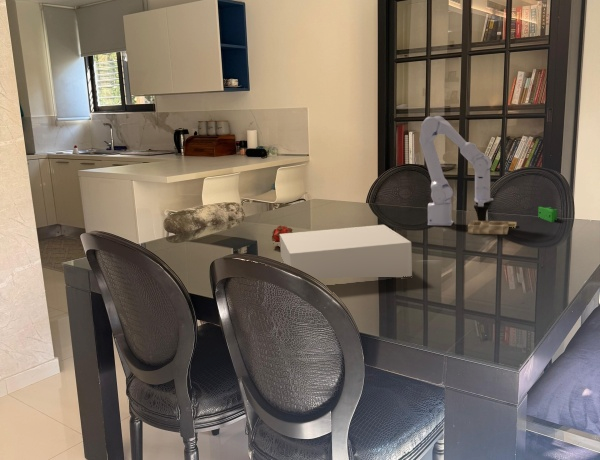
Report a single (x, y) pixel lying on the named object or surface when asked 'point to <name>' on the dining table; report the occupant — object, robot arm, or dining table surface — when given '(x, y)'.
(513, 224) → the tan rectangular block
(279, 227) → the dragon fruit
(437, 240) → the dining table surface
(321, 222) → the dining table surface
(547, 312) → the dining table surface
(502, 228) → the socket block
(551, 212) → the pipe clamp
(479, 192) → the robot arm
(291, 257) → the box
